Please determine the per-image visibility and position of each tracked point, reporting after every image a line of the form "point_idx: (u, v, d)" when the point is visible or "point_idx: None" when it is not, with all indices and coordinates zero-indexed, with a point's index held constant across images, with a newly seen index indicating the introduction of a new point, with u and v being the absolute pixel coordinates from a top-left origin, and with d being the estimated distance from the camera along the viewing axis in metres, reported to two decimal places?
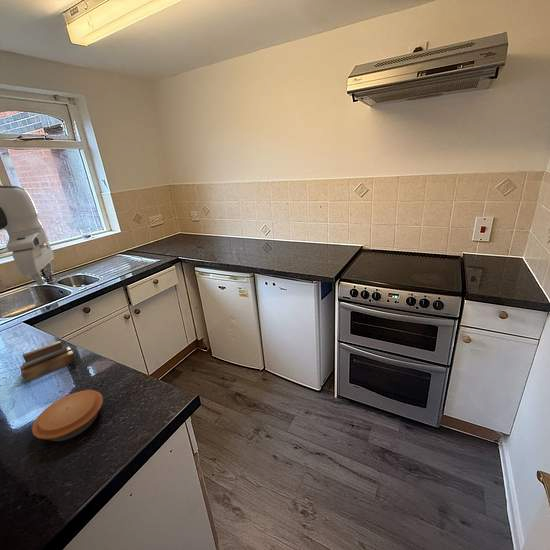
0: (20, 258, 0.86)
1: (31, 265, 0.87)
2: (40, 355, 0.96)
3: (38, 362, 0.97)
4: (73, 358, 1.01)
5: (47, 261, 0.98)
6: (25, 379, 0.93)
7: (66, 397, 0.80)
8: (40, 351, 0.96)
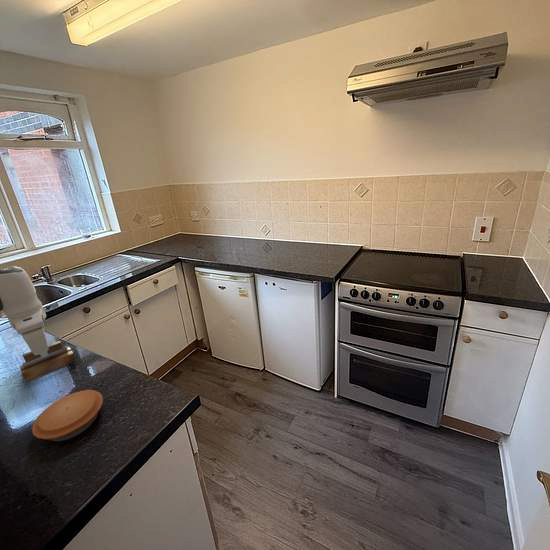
0: (32, 338, 0.87)
1: (43, 344, 0.88)
2: (40, 355, 0.96)
3: (38, 362, 0.97)
4: (73, 358, 1.01)
5: None
6: (25, 379, 0.93)
7: (66, 397, 0.80)
8: None
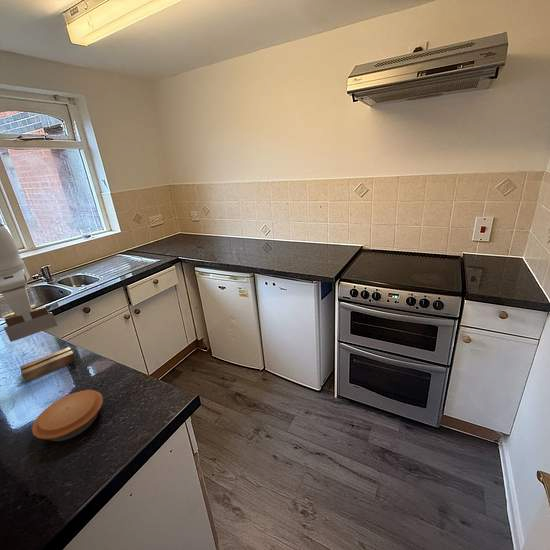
0: (13, 297, 0.80)
1: (26, 304, 0.82)
2: (23, 319, 0.90)
3: (21, 327, 0.91)
4: (73, 358, 1.01)
5: None
6: (25, 379, 0.93)
7: (66, 397, 0.80)
8: None
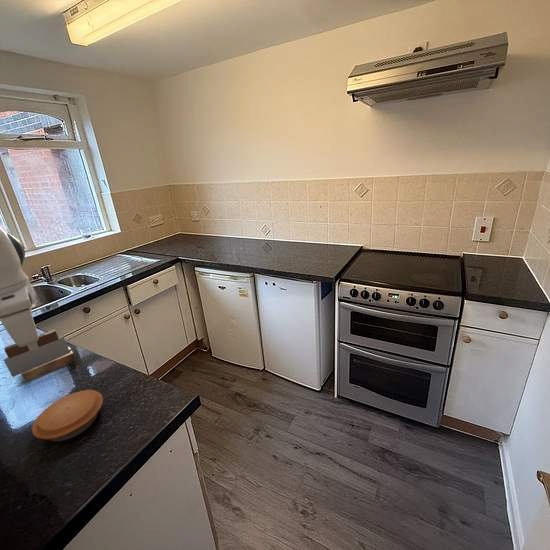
0: (15, 324, 0.62)
1: (31, 331, 0.64)
2: (28, 348, 0.71)
3: (26, 358, 0.72)
4: (73, 358, 1.01)
5: None
6: (25, 379, 0.93)
7: (66, 397, 0.80)
8: None
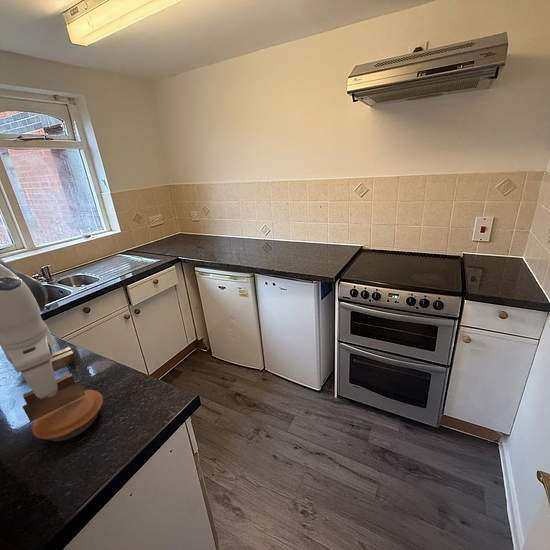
0: (36, 377, 0.63)
1: (51, 384, 0.65)
2: None
3: (44, 403, 0.73)
4: (73, 358, 1.01)
5: None
6: None
7: None
8: None
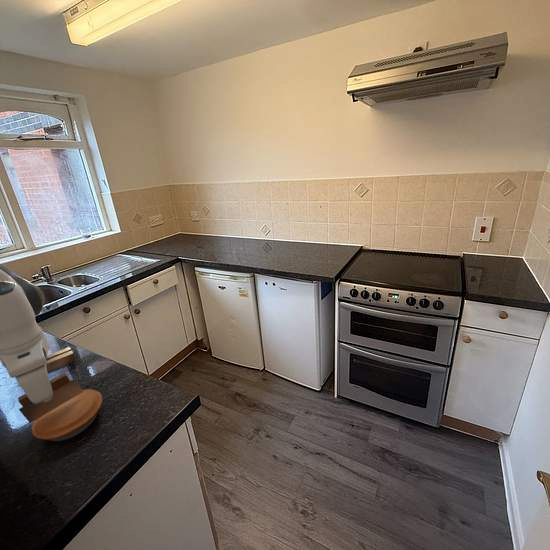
0: (30, 382, 0.63)
1: (46, 388, 0.64)
2: None
3: (41, 404, 0.73)
4: (73, 358, 1.01)
5: None
6: None
7: None
8: None
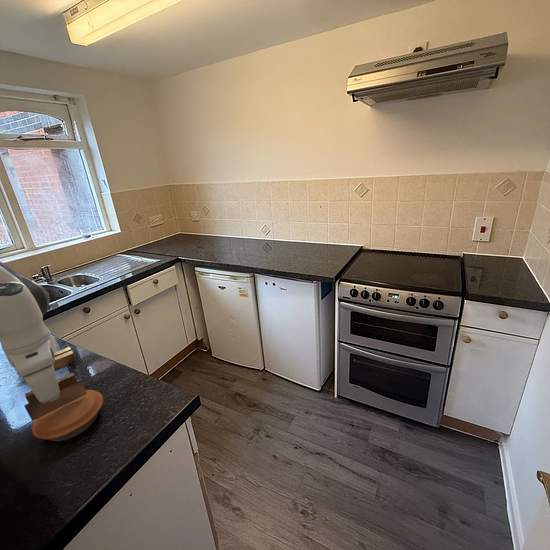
0: (38, 382, 0.64)
1: (53, 388, 0.65)
2: None
3: None
4: (73, 358, 1.01)
5: None
6: None
7: None
8: None
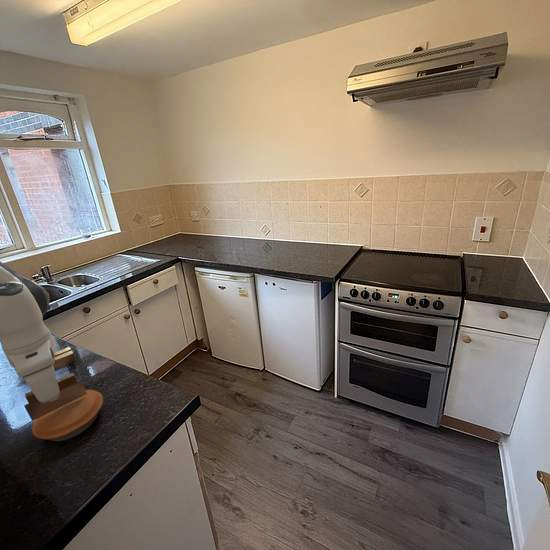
0: (38, 382, 0.64)
1: (53, 388, 0.65)
2: None
3: None
4: (73, 358, 1.01)
5: None
6: None
7: None
8: None
